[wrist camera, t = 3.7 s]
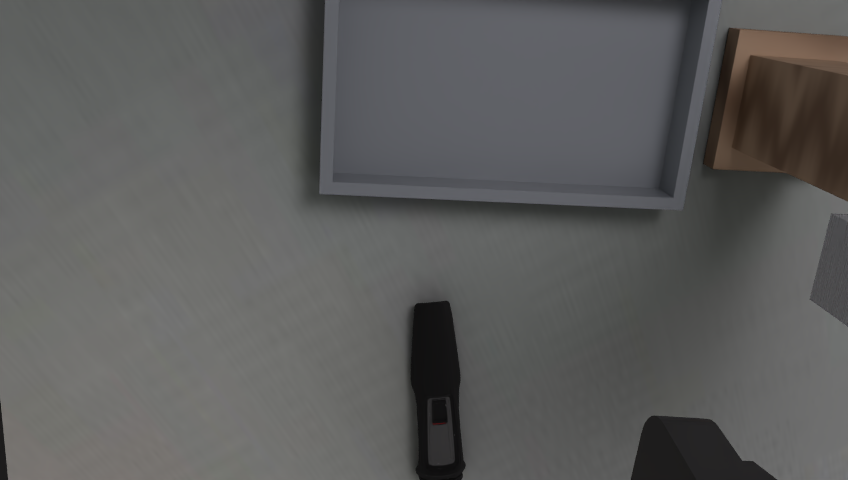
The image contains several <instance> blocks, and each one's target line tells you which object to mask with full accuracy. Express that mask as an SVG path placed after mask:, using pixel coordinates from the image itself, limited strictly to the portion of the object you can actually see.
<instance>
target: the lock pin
mask: <svg viewBox="0 0 848 480" xmlns="http://www.w3.org/2000/svg"><path fill="white" fill-rule="evenodd" d="M810 300H811V301H813V302H814V303H815V304H817V305H818V306H820V307H821V308H822V309H824V310H825V311H827V312H828V313H829V314H831V315H832V316H834V317H835V318H836V319H838V320H839V321H841V322H842V323H843V324H845V325H846V326H848V214H834V213H831V216H830V220H829V224H828V228H827V232H826V236H825V240H824V244H823V248H822V252H821V256H820V260H819V264H818V268H817V272H816V276H815V280H814V284H813V288H812V292H811V296H810Z"/></svg>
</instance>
